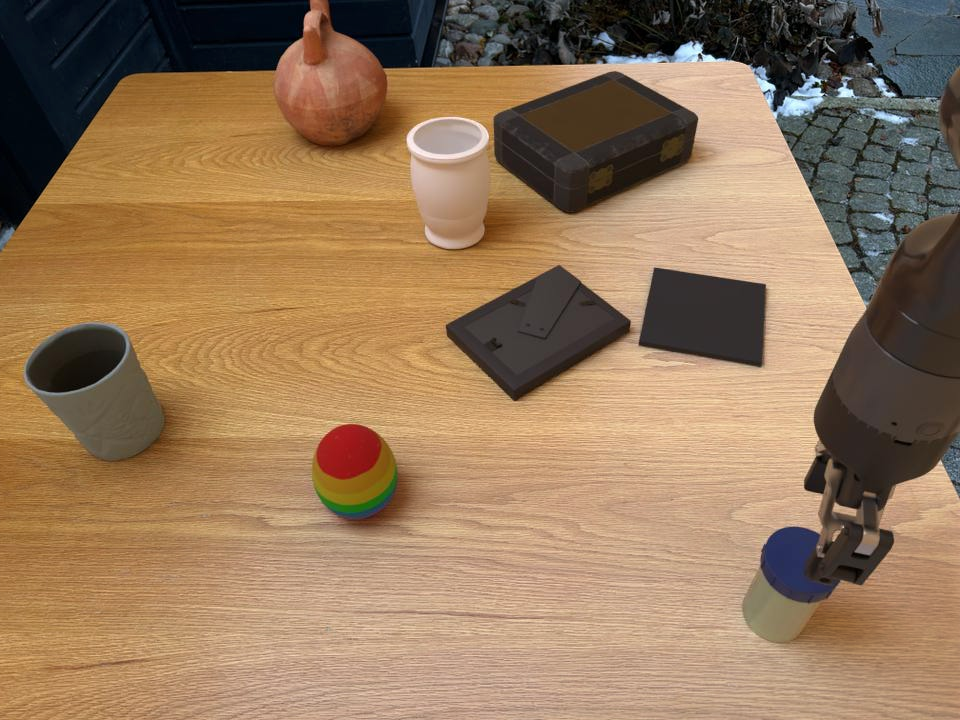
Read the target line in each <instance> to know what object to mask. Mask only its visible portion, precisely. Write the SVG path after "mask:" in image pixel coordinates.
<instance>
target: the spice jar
mask: <svg viewBox="0 0 960 720" xmlns="http://www.w3.org/2000/svg"><path fill="white" fill-rule="evenodd" d="M760 567H761V564H760V565H759V567H758V569H757V571H756V573H755V575H754V577H753V579H752V580H751V583H750V585H749V588H748V590H747V591H746V594H745V595H744V597H743V600H742V604H741V607H742V609H741V610H742V615H743V618H744V621H745V622H746V624H747V625H748V627H749V628H750V629H751V630H752V631H753V632H754V633H755V634H756V635H758V637H760V638H762V639H764V640H766V641H770V642H772V643H773V642H774V643H788V642H790V641H793V640H795V639H796V638H797V637H799V636H800V634H801V633H802V632H803V630H804V629H805V627H806V625H807V624H808V622H809V621H810V619H811V618H812V616H813V615H814V613H815V612H816V610H817V609H818V608H819V606H820V604H821V602H822V601H819V602H815V603H810V604H808V603H802V602H797V601H793V600H791V599H787V598H786V597H785V596H783V595H781V594H780V593H778V592H777V591H776V590H775V589H774V588H773V587H772V586H770V584H769V583H768V581H767V580H766V578H765V576H764V574H763V572H762V569H761V568H760Z"/></svg>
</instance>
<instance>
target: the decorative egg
mask: <svg viewBox="0 0 960 720" xmlns="http://www.w3.org/2000/svg"><path fill="white" fill-rule="evenodd" d="M398 472H399V471H398V465H397V462H396V458H395V455H394V452H393V451H392V449H391V446H390V445H389V444H388V442H387V441H386V439H384V438H383V436H381V435H380V434H379V433H378V432H376V431H375V430H373V429H372V428H370V427H367V426H366V425H363V424H357V423H345V424H341V425H339V426H336V427H333V428H332V429H330V430H329V431H328V432H327V433H326V434H325V435H324V437H322V438H321V440H320V442H319V443H318V444H317V447H316V448H315V450H314V454H313V457H312V463H311V477H312V478H311V480H312V484H313V488H314V490H315V492H316V493H315V494H316V495H317V497H318V499H319V500H320V501H321V503H322V504H323V505H324V506H325V507H326V508H327V510H329V511H330V512H332V513H333V514H335V515H337V516H338V517H341V518H344V519H349V520H364V519H368V518H370V517H372V516H375V515H376V514H378V513H380V512H381V511H382V510H383V509H384V508H385V507H386V506H387V505H388V504H389V503H390V501H391V499H392V498H393V497H394V494H395V492H396V489H397V484H398V474H399V473H398Z"/></svg>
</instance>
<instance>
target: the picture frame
mask: <svg viewBox="0 0 960 720" xmlns="http://www.w3.org/2000/svg"><path fill="white" fill-rule="evenodd" d="M631 325H632V320H631V319H629V318H628V317H627V316H626V315H624V314H623V313H622V312H621V311H619V310H618V309H616V308H615V307H613V306H612V305H611V304H610V303H609V302H607V301H606V300H605V299H604V298H602V297H601V296H599V295H598V294H597V293H596V292H594V291H593V290H592V289H591V288H589V287H588V286H587V285H586V284H583V282H582V281H581V280H580V279H579V278H577V277H576V276H575V275H574V274H572V273H571V272H570V271H568V270H567V269H566V268H565V267H563V266H562V265H561V264H558V265H556V266H554V267H552V268H550V269H548V270H546V271H545V272H542V273H539V274H538V275H537V276H535V277H533V278H532V279H530V280H527V281H525V282H524V283H522V284H520V285H518V286H517V287H514V288H512V289H510V290H509V291H507V292H505V293H503V294H501V295H499V296H498V297H496V298H494V299H492V300H490V301H488V302H486V303H485V304H482V305H480V306H479V307H477V308H475V309H472V310H471V311H469V312H466V313H465V314H463V315H462V316H459V317H458V318H456V319H454V320H452V321H450V322H448V323H446V324H445V332H446V336H447V337H448V339H450V340H451V341H452V343H454V344H455V345H456V346H457V347H458V349H460V350H461V351H462V352H463V353H464V354H465V355H466V356H467V357H468V358H469V359H470V360H471V361H472V362H473V363H474V364H476V366H478V368H479V369H481V371H483V372H484V373H485V374H486V375H487V377H489V378H490V379H491V380H492V381H493V382H494V383H495V384H496V385H497V386H498V388H500V389H501V390H502V391H503V392H504V393H505V394H506V395H507V396H508V397H509V398H510V399H511V400H513V402H516V401H518V400H519V399H521V398H523V397H524V396H526V395H527V394H529V393H531V392H533V391H534V390H536V389H537V388H539V387H541V386H543V385H544V384H545V383H547V382H549V381H550V380H552V379H554V378H556V377H557V376H559V375H561V374H563V373H564V372H566V371H567V370H569V369H570V368H572V367H574V366H575V365H578V364H579V363H581V362H582V361H584V360H586V359H587V358H589V357H591V356H592V355H595V354H596V353H597V352H599V351H601V350H603V349H604V348H606V347H608V346H609V345H611V344H612V343H614V342H616V341H617V340H619V339H621V338H622V337H624V336H626V335H627V334H629V333H630V330H631Z"/></svg>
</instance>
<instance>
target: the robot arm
mask: <svg viewBox="0 0 960 720" xmlns="http://www.w3.org/2000/svg"><path fill="white" fill-rule="evenodd" d="M938 123H939V129H940V132H941V135H942V137H943V140H944V142H945V145H946V147H947V148H948V151H949V153H950V155H951V157H952V159H953V162H954V164H955V166H956V168H957V170H958V172H959V174H960V65H958V67H957V68H956V69H955V70H954V72H953V73H952V75H951V76H950V77H949V79H948V81H947V83H946V85H945V86H944V89H943V91H942V94H941V96H940V100H939V105H938ZM813 425H814V430H815V433H816V435H817V437H818V441H817V443H816V444H815V446H814V452H815V457H814V459H813V461H812V462H811V465H810V467H809V469H808V471H807V473H806V475H805V477H804V479H803V489H804V490H805V491H806V492H809V493H814V494H820V495H822V498H821V501H820V505H819V508H818V513H817V516H818V518H819V522H820V524H821V526H822V527H821V531H820V533H819V534H820V538H819V541H818V543H817V545H816V546H815V548H814V550H813V551H812V553H811V555H810V556H809V558H808V560H807V562H806V563H805V565H804V576H805V577H806V578H808V579H811V581H813V582H817V583H821V584H825V585H830V586H833V585H835V583H836V582H837V581H838V580H841V581H843V582H847V583H851V584H852V585H857V586H863V585H864V584H865V582H866V581H867V580H868V579H869V578H870V576H871V575H872V574H873V572H874V571H875V570H876V569H877V568H878V567H879V565H880V564H881V562H882V561H883V560H884V559H885V557H886V556H887V555H888V554H889V552H891V550H892V549H893V546H894V544H895V537H894V536H895V535H894V532H893V530H888V529H884V528H880V524H881V521H882V518H883V514H884V511H885V508H886V505H887V503H888V501H889V500H890V499H892V498H893V497H894V493H895V489H896V486H897V485H899V484H903V483H905V482H909V481H911V480H915V479H918V478H921V477H923V476H925V475H926V474H929V473H930V472H931V471H932V470H934V468H936V466H937V465H938V464H939V463H940V461H941V460H942V459H943V457H944V456H945V454H947V451H949V449H950V447H951V446H952V445H953V443H954V442H955V440H956V439H957V437H959V435H960V208H959V209H958V211H957V213H949V214H943V215H937V216H935V217H932V218H930V219H927V220H924V221H922V222H920V223H919V224H918V225H915V226H914V227H913V228H912V229H911V230H909V232H908V233H907V234H906V235H905V236H904V237H903V238H902V239H901V241H900V243H898V246H897V247H896V249H895V251H894V252H893V254H892V255H891V257H890V259H889V260H888V262H887V265H886V267H885V269H884V270H883V273H882V276H881V278H880V279H879V281H878V284H877V286H876V287H875V290H874V292H873V294H872V296H871V298H870V301H869V303H868V305H867V307H866V308H865V310H864V312H863V314H862V315H861V317H860V318H859V319H858V321H857V322H856V323H855V325H854V327H852V329H851V331H850V332H849V335H848V337H846V340H845V343H844V345H843V347H842V349H841V351H840V353H839V355H838V358H837V360H836V362H835V364H834V366H833V368H832V370H831V373H830V375H829V377H828V379H827V381H826V383H825V385H824V387H823V390H822V392H821V394H820V396H819V398H818V400H817V402H816V405H815V407H814V411H813ZM835 504H837V505H838V506H840V507H843V508H848V509H853V510H856V513H855V515H851V514H846V513H841V512H837V511H834V507H835ZM836 532H839V533H838V535H837V536H836V538H835V539H834V540H833V538H834V534H835V533H836Z"/></svg>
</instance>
